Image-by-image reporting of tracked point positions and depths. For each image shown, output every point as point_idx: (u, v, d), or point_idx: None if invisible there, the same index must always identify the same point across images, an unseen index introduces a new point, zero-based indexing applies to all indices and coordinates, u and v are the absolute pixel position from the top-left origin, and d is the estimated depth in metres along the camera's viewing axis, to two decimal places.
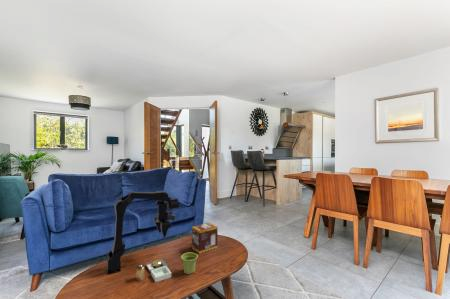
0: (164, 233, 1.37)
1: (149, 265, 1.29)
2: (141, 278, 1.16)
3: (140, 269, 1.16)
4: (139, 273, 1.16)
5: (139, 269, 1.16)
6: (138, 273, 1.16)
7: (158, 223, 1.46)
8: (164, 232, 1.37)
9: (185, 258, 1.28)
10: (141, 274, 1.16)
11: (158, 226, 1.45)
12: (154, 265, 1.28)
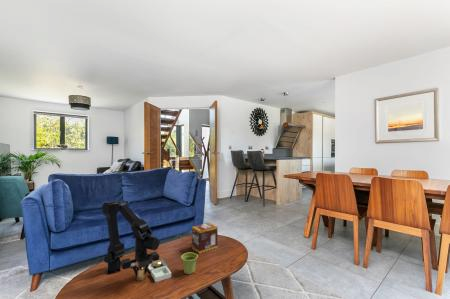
0: (134, 272, 1.17)
1: (149, 265, 1.29)
2: (141, 278, 1.16)
3: (140, 269, 1.16)
4: (139, 273, 1.16)
5: (139, 269, 1.16)
6: (138, 273, 1.16)
7: None
8: None
9: (185, 258, 1.28)
10: (141, 274, 1.16)
11: (144, 265, 1.20)
12: (154, 265, 1.28)
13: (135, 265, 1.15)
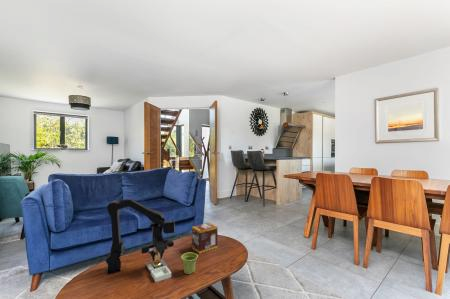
0: (151, 256, 1.29)
1: (149, 265, 1.29)
2: (158, 262, 1.28)
3: (157, 254, 1.28)
4: (156, 257, 1.28)
5: (156, 254, 1.28)
6: (155, 257, 1.28)
7: None
8: (151, 255, 1.29)
9: (185, 258, 1.28)
10: (158, 258, 1.28)
11: None
12: (154, 266, 1.28)
13: (152, 250, 1.27)
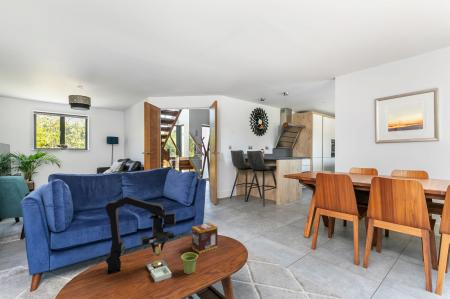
0: None
1: (149, 265, 1.29)
2: (158, 254, 1.28)
3: (157, 245, 1.28)
4: (156, 249, 1.28)
5: (156, 245, 1.28)
6: (155, 249, 1.28)
7: None
8: (151, 247, 1.29)
9: (185, 258, 1.28)
10: (158, 250, 1.28)
11: None
12: (154, 266, 1.28)
13: (153, 242, 1.27)
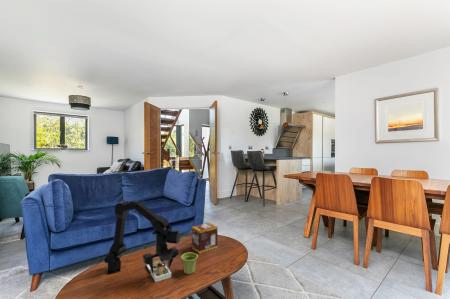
0: (150, 268, 1.18)
1: None
2: None
3: (161, 266, 1.19)
4: (160, 270, 1.19)
5: (160, 266, 1.19)
6: (159, 270, 1.19)
7: None
8: (150, 266, 1.18)
9: (185, 258, 1.28)
10: (162, 271, 1.19)
11: (168, 259, 1.24)
12: (154, 266, 1.28)
13: (151, 261, 1.17)
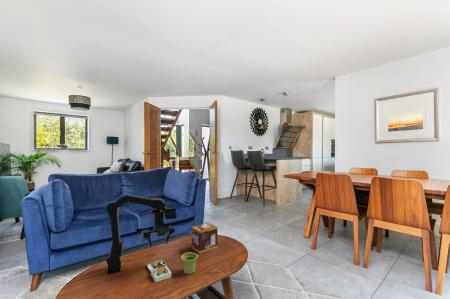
0: (148, 242, 1.29)
1: (149, 265, 1.29)
2: (162, 274, 1.19)
3: (161, 266, 1.19)
4: (160, 270, 1.19)
5: (160, 266, 1.19)
6: (159, 269, 1.19)
7: (166, 233, 1.35)
8: (148, 241, 1.29)
9: (185, 258, 1.28)
10: (162, 271, 1.19)
11: (165, 236, 1.35)
12: (154, 266, 1.28)
13: (149, 236, 1.28)
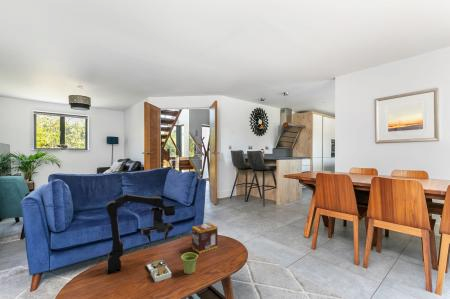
0: (148, 239, 1.33)
1: (149, 265, 1.29)
2: (162, 274, 1.19)
3: (161, 266, 1.19)
4: (160, 269, 1.19)
5: (160, 266, 1.19)
6: (159, 269, 1.19)
7: (165, 230, 1.40)
8: None
9: (185, 258, 1.28)
10: (162, 270, 1.19)
11: (164, 233, 1.40)
12: (154, 266, 1.28)
13: None
